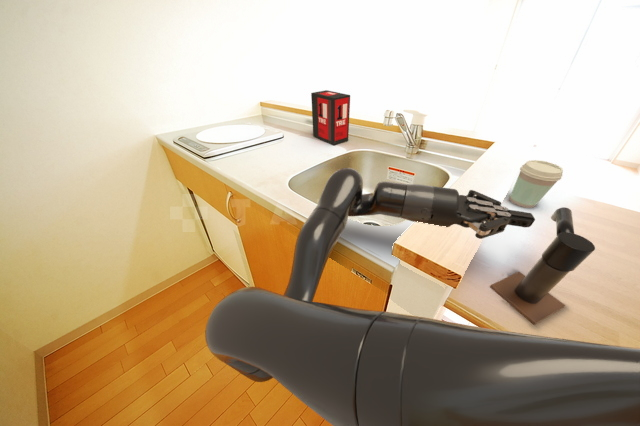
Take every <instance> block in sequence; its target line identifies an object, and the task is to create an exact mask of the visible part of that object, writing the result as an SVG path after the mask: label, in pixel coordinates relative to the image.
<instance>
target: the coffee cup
mask: <svg viewBox="0 0 640 426" xmlns="http://www.w3.org/2000/svg"><path fill="white" fill-rule="evenodd" d="M563 173H564V169H563V168H562V167H561V166H560V165H558V164H556V163H553V162H550V161H545V160H539V159H531V160H527V161H526V162H525V163H523V165H521V167H520V168H519V173H518V175H517V179H516V181H515V183H514V186H513V189H512V191H511V193H510V195H509V198H508V199H509V201H510V202H511V203H512V204H514V205H516V206H518V207H521V208H525V209H532V208H534V207H536V206H537V205H538V203H539V202H540V201H541V200H542V199H543V198H544V197H545V196H546V194H547V193H548V192H549V191H550V190H551V189H552V188H553V187H554V186H555V184H556V183H557V182H558V181H561V180H562V177H563Z"/></svg>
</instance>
